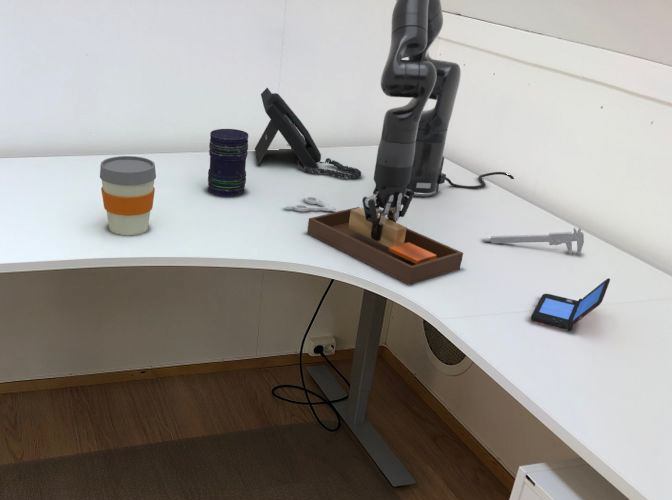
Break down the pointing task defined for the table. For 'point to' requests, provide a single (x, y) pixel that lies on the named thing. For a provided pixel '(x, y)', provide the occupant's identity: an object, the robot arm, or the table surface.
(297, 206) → the scissors
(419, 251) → the tan and orange bar
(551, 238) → the caliper
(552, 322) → the handheld console
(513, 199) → the table surface
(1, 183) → the table surface
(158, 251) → the table surface
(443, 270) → the tray
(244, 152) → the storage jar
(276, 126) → the office phone
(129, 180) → the reusable coffee cup
